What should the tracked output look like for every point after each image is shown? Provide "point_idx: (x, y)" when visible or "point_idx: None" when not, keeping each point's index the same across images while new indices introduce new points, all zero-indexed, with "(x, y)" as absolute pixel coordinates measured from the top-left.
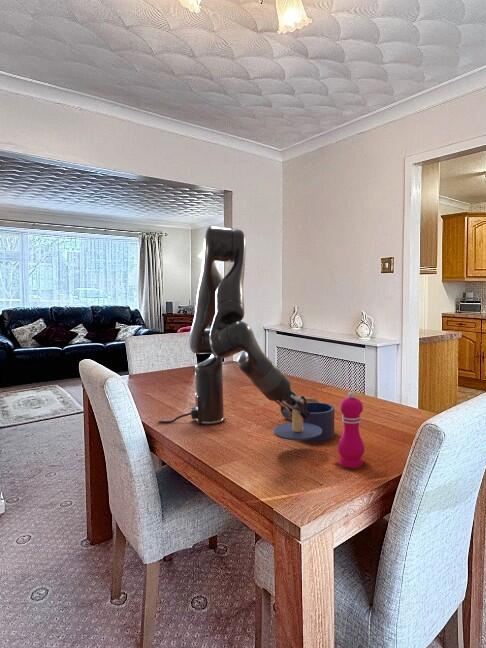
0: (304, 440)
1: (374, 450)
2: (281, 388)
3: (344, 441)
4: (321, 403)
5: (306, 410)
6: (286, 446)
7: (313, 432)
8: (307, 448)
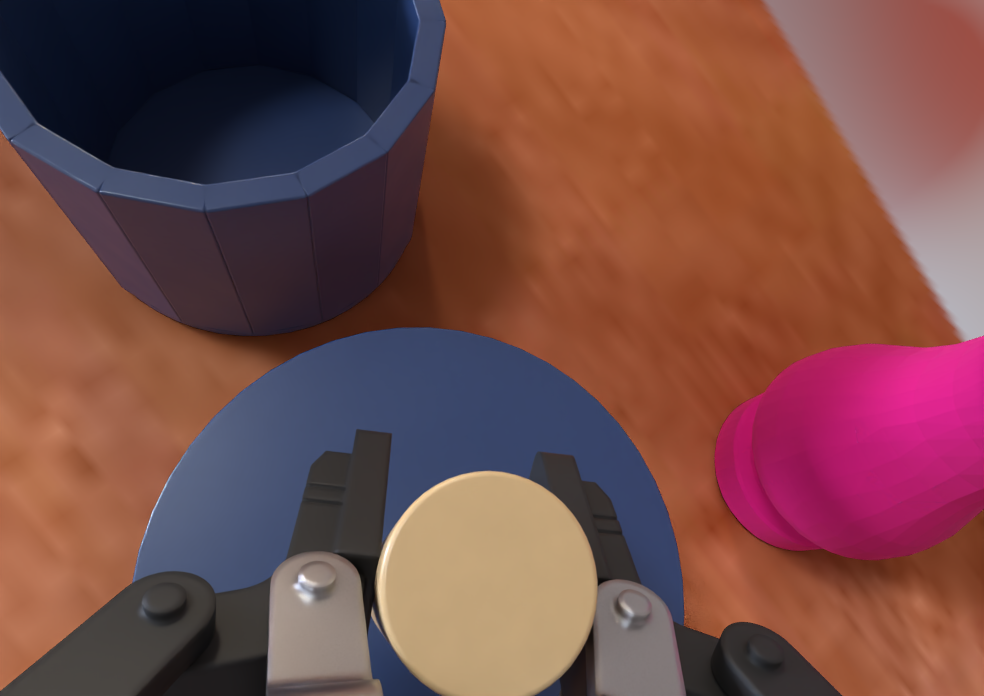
0: (275, 328)
1: (730, 189)
2: None
3: (936, 530)
4: None
5: (631, 564)
6: None
7: None
8: None
